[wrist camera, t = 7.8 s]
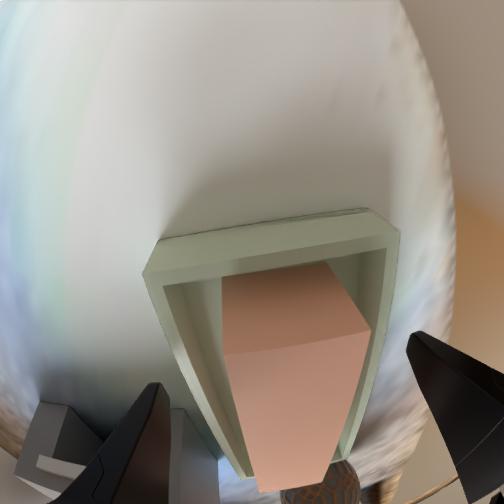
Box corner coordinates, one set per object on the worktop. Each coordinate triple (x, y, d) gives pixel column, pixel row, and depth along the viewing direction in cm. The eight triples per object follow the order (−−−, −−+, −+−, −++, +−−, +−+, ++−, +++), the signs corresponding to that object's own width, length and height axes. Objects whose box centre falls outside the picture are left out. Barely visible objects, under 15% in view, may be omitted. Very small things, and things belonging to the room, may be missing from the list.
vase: (353, 455, 22) (376, 524, 14) (289, 477, 22) (304, 545, 14) (340, 436, 19) (369, 524, 11) (262, 461, 19) (276, 548, 11)
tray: (338, 433, 18) (347, 458, 16) (238, 453, 18) (240, 479, 16) (366, 207, 10) (400, 231, 8) (158, 240, 10) (142, 273, 8)
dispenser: (217, 461, 19) (221, 533, 12) (95, 456, 18) (85, 515, 12) (181, 404, 14) (176, 513, 8) (36, 397, 14) (8, 470, 8)
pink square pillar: (309, 435, 17) (321, 482, 13) (253, 444, 17) (259, 492, 13) (326, 262, 11) (371, 330, 7) (221, 276, 10) (223, 355, 7)
